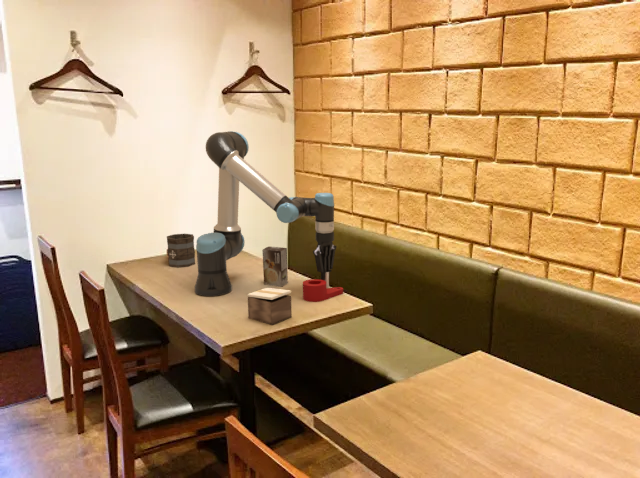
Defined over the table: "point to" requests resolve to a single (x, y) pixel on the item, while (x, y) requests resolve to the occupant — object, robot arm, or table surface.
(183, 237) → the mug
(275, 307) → the box
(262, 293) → the lid
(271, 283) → the coffee box
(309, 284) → the lever
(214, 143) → the robot arm
